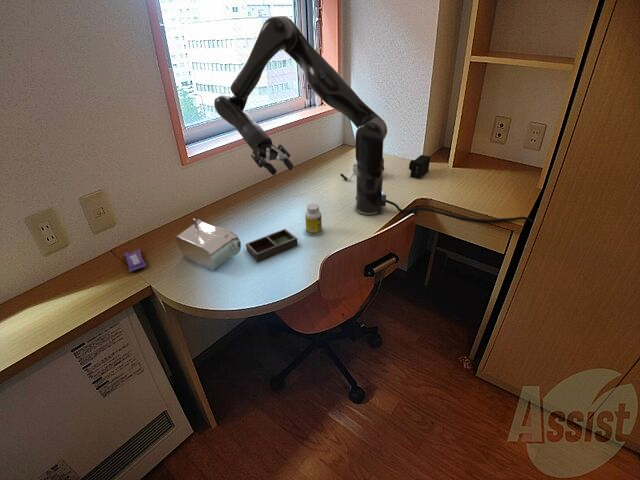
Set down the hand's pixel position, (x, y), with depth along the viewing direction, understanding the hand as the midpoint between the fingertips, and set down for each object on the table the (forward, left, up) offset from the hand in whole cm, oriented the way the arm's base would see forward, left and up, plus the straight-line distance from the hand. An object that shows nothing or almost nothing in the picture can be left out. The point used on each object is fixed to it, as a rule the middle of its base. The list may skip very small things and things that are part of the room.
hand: (283, 170), depth 124 cm
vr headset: (+18, +29, -17) cm, 38 cm away
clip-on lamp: (-24, -36, -17) cm, 47 cm away
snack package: (+41, +35, -17) cm, 56 cm away
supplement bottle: (-12, +11, -17) cm, 24 cm away
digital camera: (-49, -41, -17) cm, 67 cm away
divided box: (0, +23, -17) cm, 28 cm away
